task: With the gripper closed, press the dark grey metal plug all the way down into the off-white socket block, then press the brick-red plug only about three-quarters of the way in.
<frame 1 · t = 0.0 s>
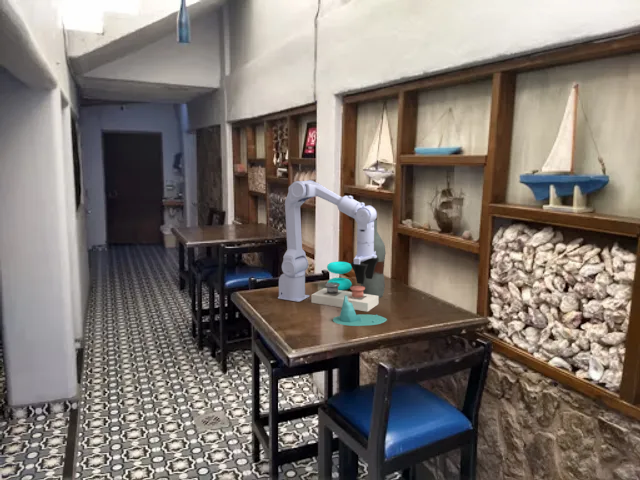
hand: (364, 280, 165), 10 cm above the table, fingers open, 7 cm apart
red plug: (357, 291, 171), point 5 cm above the table, slide at 0.0 cm
bottle: (372, 295, 184), on the table
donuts: (339, 288, 195), on the table
teal witch hat: (360, 321, 156), on the table
grey plug: (332, 288, 175), point 5 cm above the table, slide at 0.0 cm
socket block: (344, 303, 174), on the table
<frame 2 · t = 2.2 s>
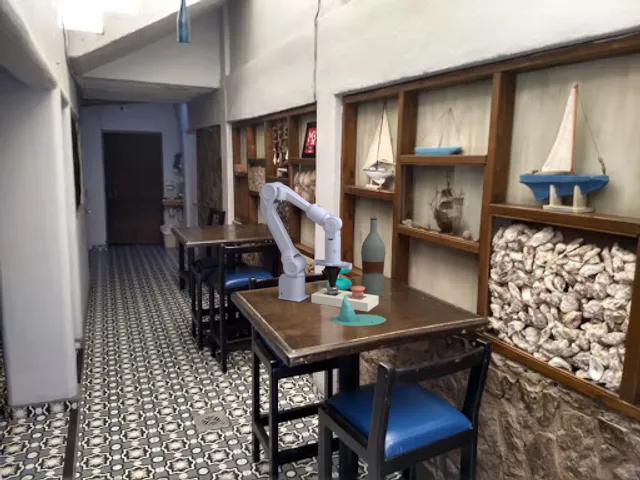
hand: (332, 286, 175), 6 cm above the table, fingers closed, pressing on grey plug
grey plug: (332, 290, 176), point 4 cm above the table, slide at 0.9 cm, touching gripper
everything else where it was.
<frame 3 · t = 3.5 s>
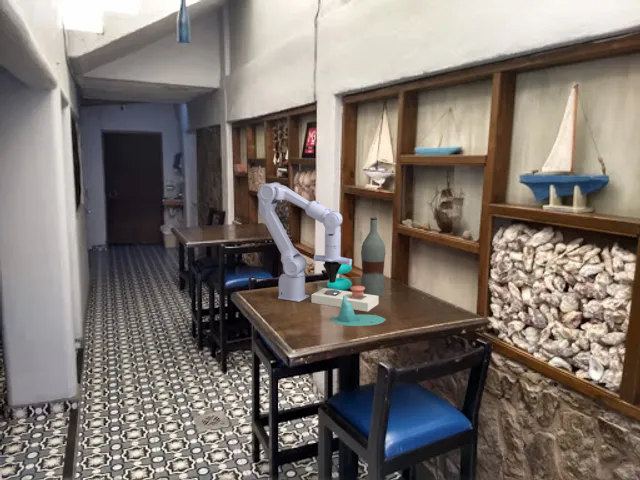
hand: (332, 282, 175), 7 cm above the table, fingers closed
grey plug: (332, 295, 176), point 2 cm above the table, slide at 2.9 cm
everything else where it was.
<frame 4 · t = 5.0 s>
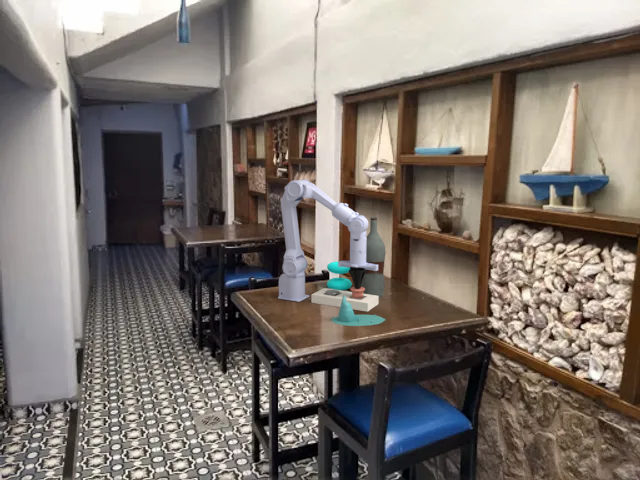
hand: (357, 288, 171), 6 cm above the table, fingers closed, pressing on red plug
red plug: (357, 292, 171), point 5 cm above the table, slide at 0.3 cm, touching gripper
everything else where it was.
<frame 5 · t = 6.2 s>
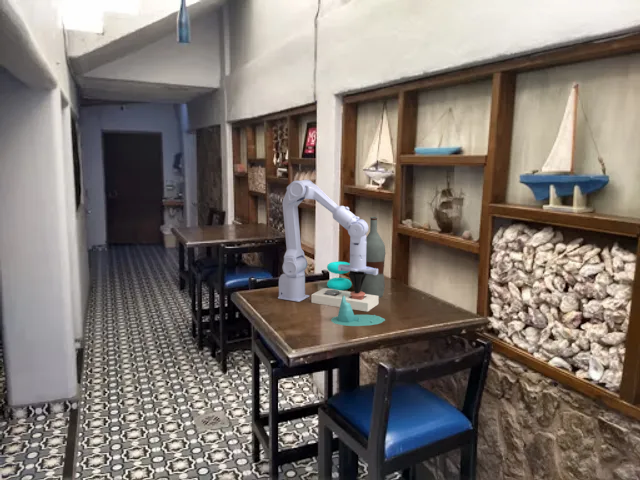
hand: (357, 292, 171), 5 cm above the table, fingers closed
red plug: (357, 297, 171), point 3 cm above the table, slide at 2.0 cm
everything else where it was.
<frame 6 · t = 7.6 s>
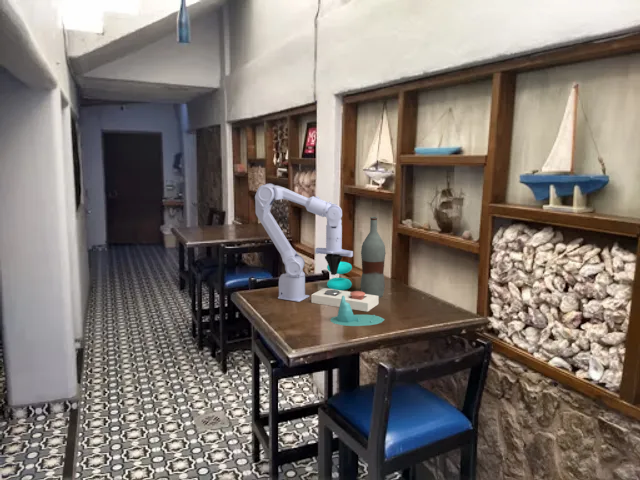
hand: (333, 274, 178), 9 cm above the table, fingers closed
nothing on the table moved.
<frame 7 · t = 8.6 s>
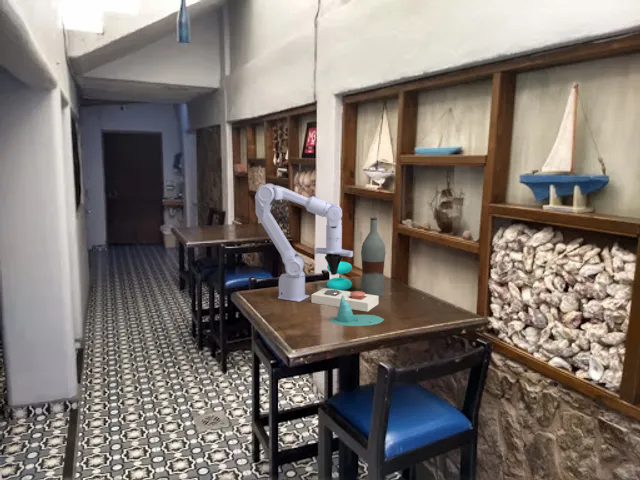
hand: (333, 274, 178), 9 cm above the table, fingers closed
nothing on the table moved.
at the end: grey plug slide at 2.9 cm; red plug slide at 2.0 cm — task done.
